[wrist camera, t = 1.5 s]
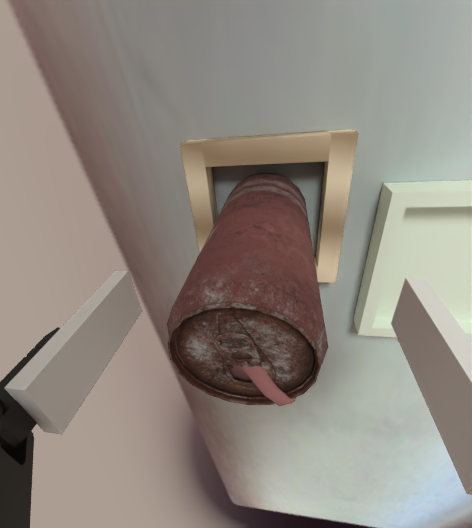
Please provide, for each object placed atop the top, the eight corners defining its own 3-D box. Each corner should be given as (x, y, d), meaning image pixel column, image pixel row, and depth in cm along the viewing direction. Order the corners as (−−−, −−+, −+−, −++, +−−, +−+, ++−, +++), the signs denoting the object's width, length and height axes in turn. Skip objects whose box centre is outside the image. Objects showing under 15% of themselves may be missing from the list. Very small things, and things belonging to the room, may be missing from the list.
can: (270, 259, 23) (255, 430, 12) (212, 213, 22) (130, 358, 10) (325, 210, 20) (377, 379, 9) (262, 152, 19) (224, 265, 7)
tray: (383, 183, 18) (392, 192, 17) (615, 175, 16) (652, 185, 15) (353, 318, 26) (358, 335, 24) (511, 326, 23) (528, 345, 22)
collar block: (187, 140, 19) (171, 149, 16) (352, 129, 17) (364, 137, 14) (217, 318, 28) (210, 342, 26) (325, 324, 27) (329, 351, 24)
